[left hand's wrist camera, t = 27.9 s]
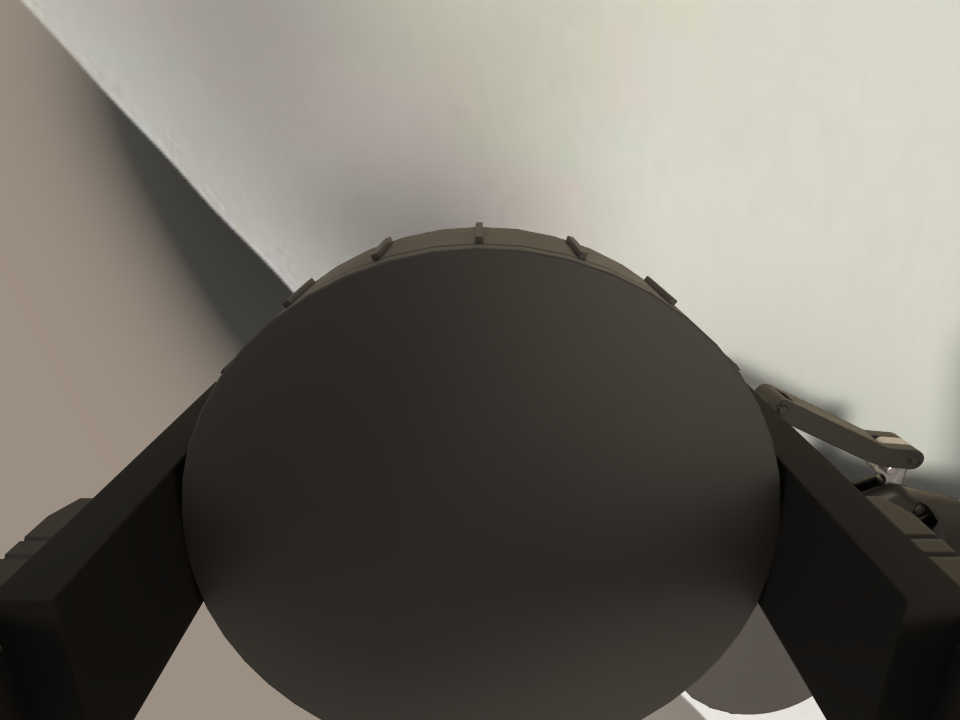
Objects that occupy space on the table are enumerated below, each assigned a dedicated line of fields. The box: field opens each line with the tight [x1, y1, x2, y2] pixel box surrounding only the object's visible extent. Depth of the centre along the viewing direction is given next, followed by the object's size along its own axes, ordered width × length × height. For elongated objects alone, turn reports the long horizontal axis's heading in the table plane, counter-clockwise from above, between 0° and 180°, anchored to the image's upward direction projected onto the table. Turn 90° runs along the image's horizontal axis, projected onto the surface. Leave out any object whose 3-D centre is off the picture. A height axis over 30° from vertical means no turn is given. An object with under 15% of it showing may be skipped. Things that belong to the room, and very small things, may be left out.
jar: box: [685, 604, 812, 714], centre depth 36 cm, size 8×8×18 cm
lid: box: [181, 223, 781, 720], centre depth 11 cm, size 10×10×2 cm
